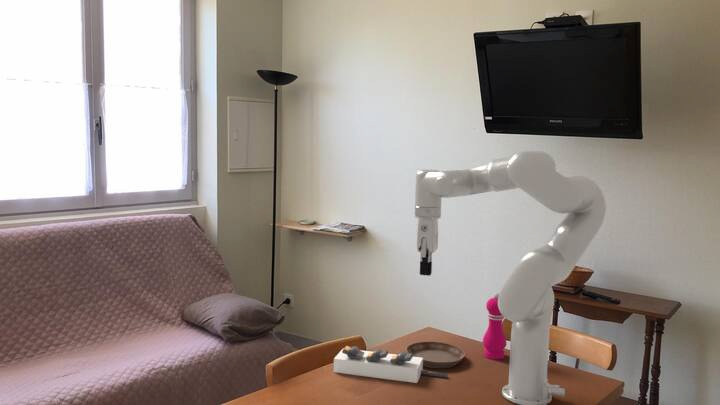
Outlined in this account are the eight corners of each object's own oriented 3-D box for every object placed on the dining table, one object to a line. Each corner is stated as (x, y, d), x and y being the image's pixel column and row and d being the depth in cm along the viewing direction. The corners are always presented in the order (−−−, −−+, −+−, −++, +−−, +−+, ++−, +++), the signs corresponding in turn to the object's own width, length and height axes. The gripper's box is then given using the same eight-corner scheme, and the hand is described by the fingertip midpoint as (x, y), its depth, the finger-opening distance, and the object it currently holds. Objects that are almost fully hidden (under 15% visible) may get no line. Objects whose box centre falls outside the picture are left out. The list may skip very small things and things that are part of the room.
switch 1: (362, 358, 176) (365, 349, 176) (359, 362, 173) (362, 354, 172) (344, 351, 177) (347, 342, 177) (341, 355, 174) (343, 346, 173)
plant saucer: (463, 352, 194) (464, 343, 193) (465, 373, 176) (465, 363, 176) (407, 348, 196) (408, 339, 196) (403, 368, 179) (404, 358, 178)
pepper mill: (506, 361, 186) (509, 296, 184) (481, 359, 187) (484, 295, 185) (505, 353, 193) (508, 291, 191) (482, 351, 194) (484, 289, 192)
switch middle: (389, 355, 174) (386, 347, 174) (386, 360, 170) (383, 351, 170) (370, 359, 175) (368, 350, 175) (367, 363, 172) (365, 354, 172)
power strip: (449, 374, 174) (449, 360, 174) (444, 386, 166) (445, 371, 165) (342, 361, 183) (343, 347, 182) (333, 372, 174) (333, 357, 174)
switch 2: (413, 359, 172) (411, 350, 172) (411, 363, 168) (408, 354, 168) (394, 362, 174) (392, 353, 173) (391, 366, 170) (389, 357, 170)
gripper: (436, 216, 169) (434, 281, 171) (444, 210, 183) (441, 270, 185) (410, 214, 171) (408, 279, 173) (419, 208, 185) (417, 268, 187)
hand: (425, 274), depth 179 cm, fingers closed
